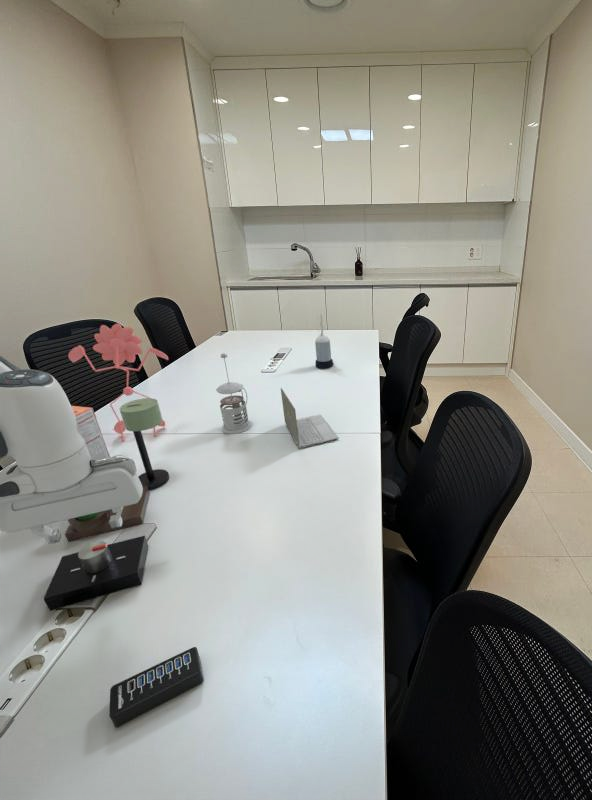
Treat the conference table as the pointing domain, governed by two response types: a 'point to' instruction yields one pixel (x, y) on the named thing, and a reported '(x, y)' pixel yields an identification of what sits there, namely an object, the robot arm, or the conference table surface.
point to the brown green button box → (100, 522)
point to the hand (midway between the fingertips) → (87, 533)
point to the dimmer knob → (95, 557)
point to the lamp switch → (87, 516)
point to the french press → (233, 422)
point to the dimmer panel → (97, 575)
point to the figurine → (117, 357)
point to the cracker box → (90, 432)
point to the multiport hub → (155, 686)
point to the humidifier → (323, 350)
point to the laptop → (306, 426)
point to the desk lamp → (138, 419)
